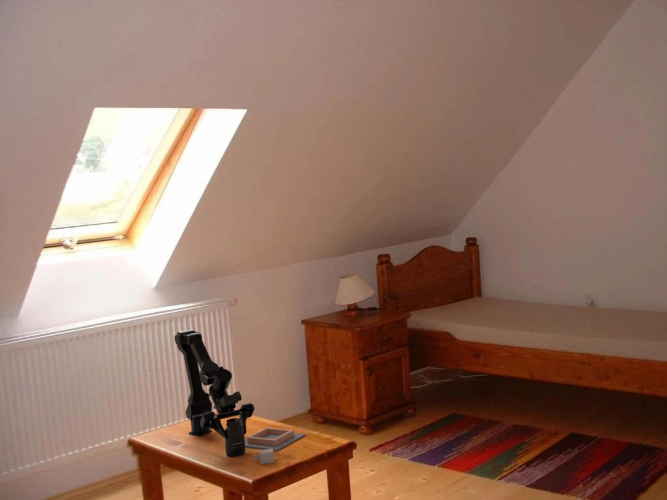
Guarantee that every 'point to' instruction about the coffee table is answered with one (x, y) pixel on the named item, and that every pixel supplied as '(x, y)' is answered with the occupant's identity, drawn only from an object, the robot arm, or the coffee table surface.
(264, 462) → the usb wall charger
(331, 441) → the coffee table surface
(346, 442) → the coffee table surface
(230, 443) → the supplement bottle
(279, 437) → the dock tray
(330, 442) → the coffee table surface
